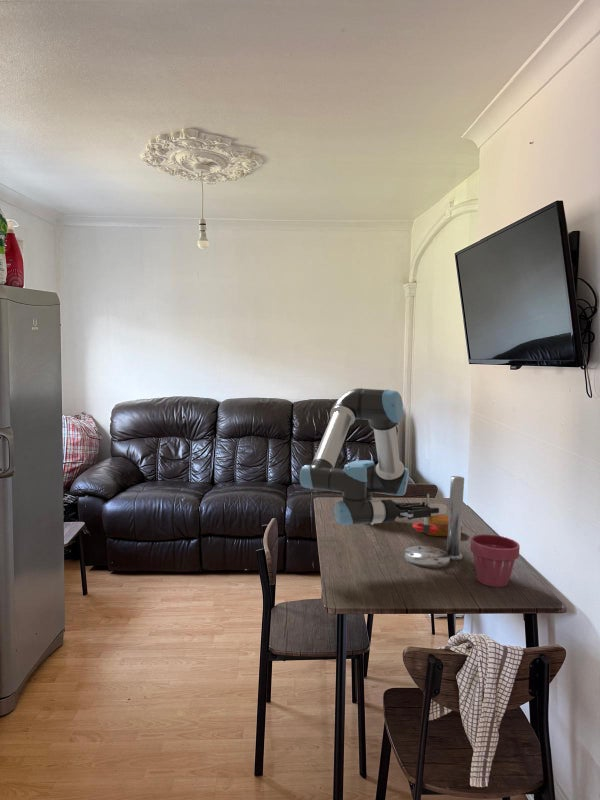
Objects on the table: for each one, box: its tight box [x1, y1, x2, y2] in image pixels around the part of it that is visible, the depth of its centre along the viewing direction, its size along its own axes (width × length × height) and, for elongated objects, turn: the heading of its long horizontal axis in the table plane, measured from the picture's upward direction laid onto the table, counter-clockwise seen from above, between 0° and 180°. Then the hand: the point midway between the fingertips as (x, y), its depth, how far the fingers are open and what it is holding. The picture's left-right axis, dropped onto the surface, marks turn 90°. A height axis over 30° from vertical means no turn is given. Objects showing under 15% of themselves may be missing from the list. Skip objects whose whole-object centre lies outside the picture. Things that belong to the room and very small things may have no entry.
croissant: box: [421, 514, 463, 537], centre depth 222 cm, size 14×16×8 cm
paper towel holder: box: [404, 475, 465, 569], centre depth 192 cm, size 15×21×28 cm
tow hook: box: [412, 493, 438, 533], centre depth 194 cm, size 8×13×9 cm
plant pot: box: [469, 533, 521, 588], centre depth 175 cm, size 14×14×13 cm
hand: (444, 508), depth 192 cm, fingers closed on tow hook
